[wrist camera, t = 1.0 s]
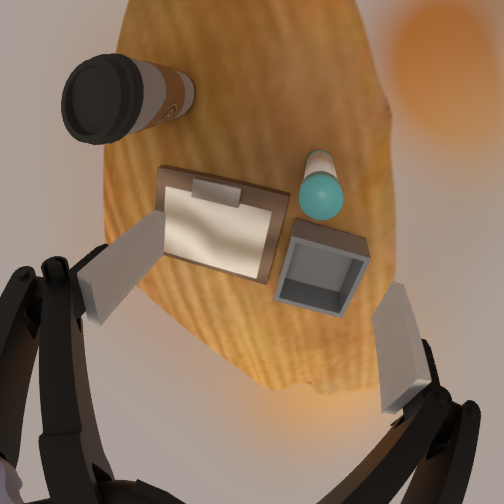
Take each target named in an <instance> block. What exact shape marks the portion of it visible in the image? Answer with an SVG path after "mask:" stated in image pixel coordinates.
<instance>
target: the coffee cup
mask: <svg viewBox="0 0 504 504" xmlns="http://www.w3.org/2000/svg"><path fill="white" fill-rule="evenodd" d="M193 99H194V86H193V83H192V81H191V80H190V78H189V77H188V76H187V75H186V74H184V73H182V72H180V71H176V70H173V69H171V68H169V67H165V66H162V65H158V64H155V63H151V62H147V61H139V60H135V59H131V58H128V57H126V56H124V55H122V54H102V55H99V56H95V57H93V58H91V59H89V60H86V61H84V62H83V63H82V64H80V65H78V66H77V67H76V68H75V69H74V71H73V72H72V73H71V74H70V76H69V78H68V80H67V81H66V84H65V87H64V90H63V94H62V100H61V113H62V117H63V122H64V124H65V126H66V128H67V130H68V132H69V133H70V134H71V136H72V137H74V138H75V139H76V140H78V141H81V142H84V143H89V144H93V145H101V144H107V143H113V142H115V141H118V140H120V139H121V138H123V137H124V136H125V135H128V134H131V133H133V132H138V131H141V130H144V129H147V128H150V127H153V126H156V125H159V124H162V123H165V122H168V121H170V120H173V119H176V118H179V117H180V116H182V115H184V114H185V113H186V112H187V111H188V110H189V108H190V107H191V105H192V103H193Z"/></svg>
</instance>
